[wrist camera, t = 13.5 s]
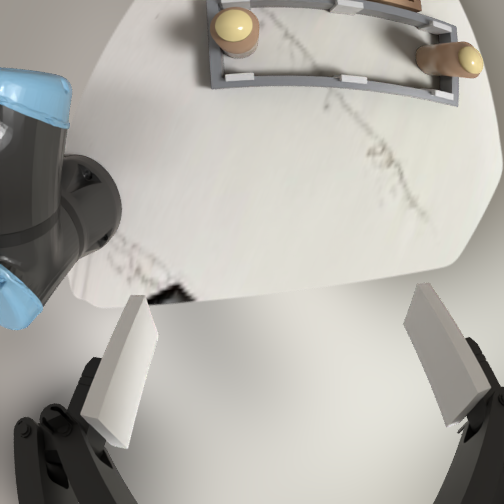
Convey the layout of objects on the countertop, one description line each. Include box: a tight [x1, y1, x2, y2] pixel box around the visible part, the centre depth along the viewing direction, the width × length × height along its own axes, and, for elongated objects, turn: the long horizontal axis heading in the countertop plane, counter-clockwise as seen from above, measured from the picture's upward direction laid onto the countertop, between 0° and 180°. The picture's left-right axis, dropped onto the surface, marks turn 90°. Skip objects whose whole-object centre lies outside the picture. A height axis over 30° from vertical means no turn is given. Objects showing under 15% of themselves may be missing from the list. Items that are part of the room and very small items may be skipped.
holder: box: [207, 0, 459, 107], centre depth 26 cm, size 31×12×4 cm, turn 93°
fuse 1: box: [210, 7, 259, 58], centre depth 24 cm, size 4×4×10 cm
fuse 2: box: [416, 42, 483, 78], centre depth 23 cm, size 4×4×10 cm
